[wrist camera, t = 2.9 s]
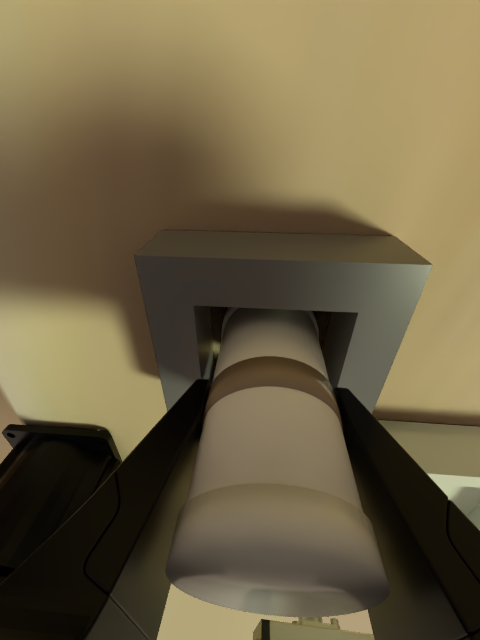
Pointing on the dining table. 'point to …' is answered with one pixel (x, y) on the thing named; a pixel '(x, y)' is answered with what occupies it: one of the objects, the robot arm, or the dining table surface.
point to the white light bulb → (275, 482)
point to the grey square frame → (280, 297)
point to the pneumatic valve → (305, 630)
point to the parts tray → (445, 459)
